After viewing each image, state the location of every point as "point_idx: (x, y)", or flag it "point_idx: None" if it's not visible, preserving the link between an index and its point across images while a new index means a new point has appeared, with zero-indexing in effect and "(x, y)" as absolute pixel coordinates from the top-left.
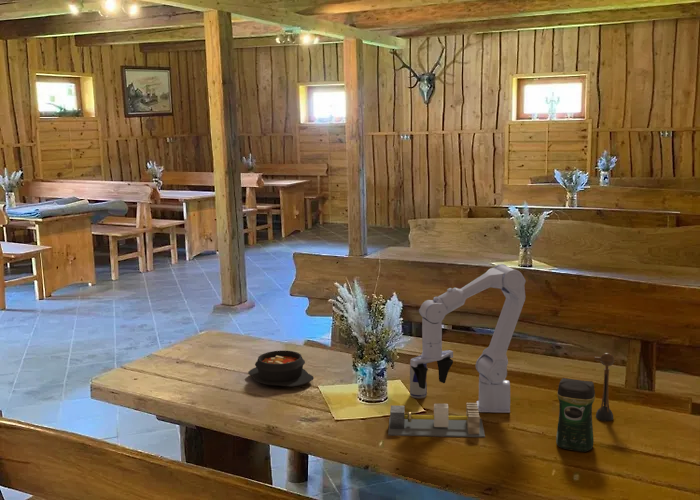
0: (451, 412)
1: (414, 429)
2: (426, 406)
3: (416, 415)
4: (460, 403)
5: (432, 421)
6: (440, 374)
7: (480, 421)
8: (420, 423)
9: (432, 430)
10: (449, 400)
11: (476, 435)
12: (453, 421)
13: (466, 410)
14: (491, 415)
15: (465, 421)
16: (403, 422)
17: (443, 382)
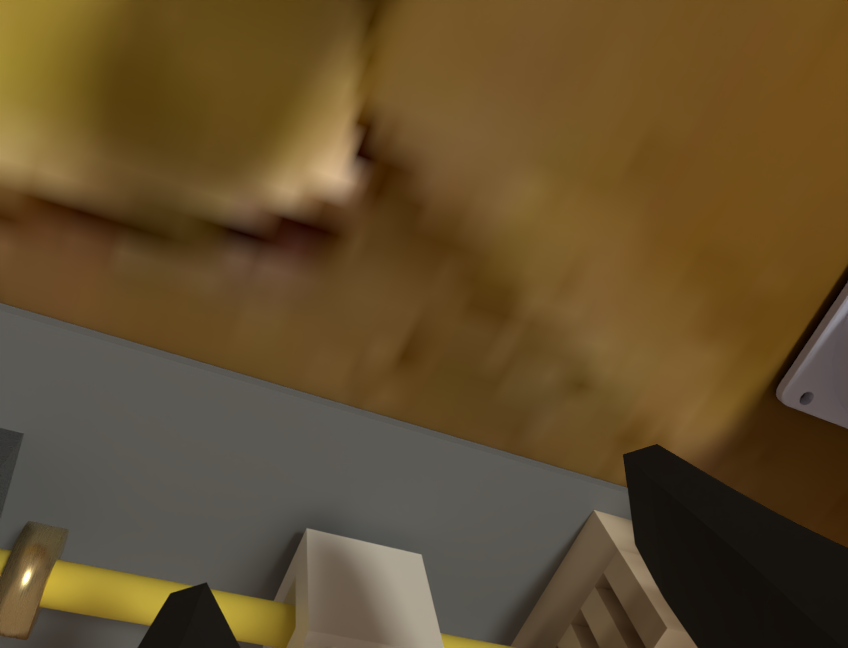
0: (574, 321)
1: None
2: (412, 87)
3: (98, 614)
4: (774, 144)
5: (307, 484)
6: (706, 567)
7: None
8: (180, 496)
9: None
10: (731, 16)
11: None
12: (480, 520)
13: (622, 592)
14: (814, 459)
15: (567, 539)
16: None
17: (640, 551)
